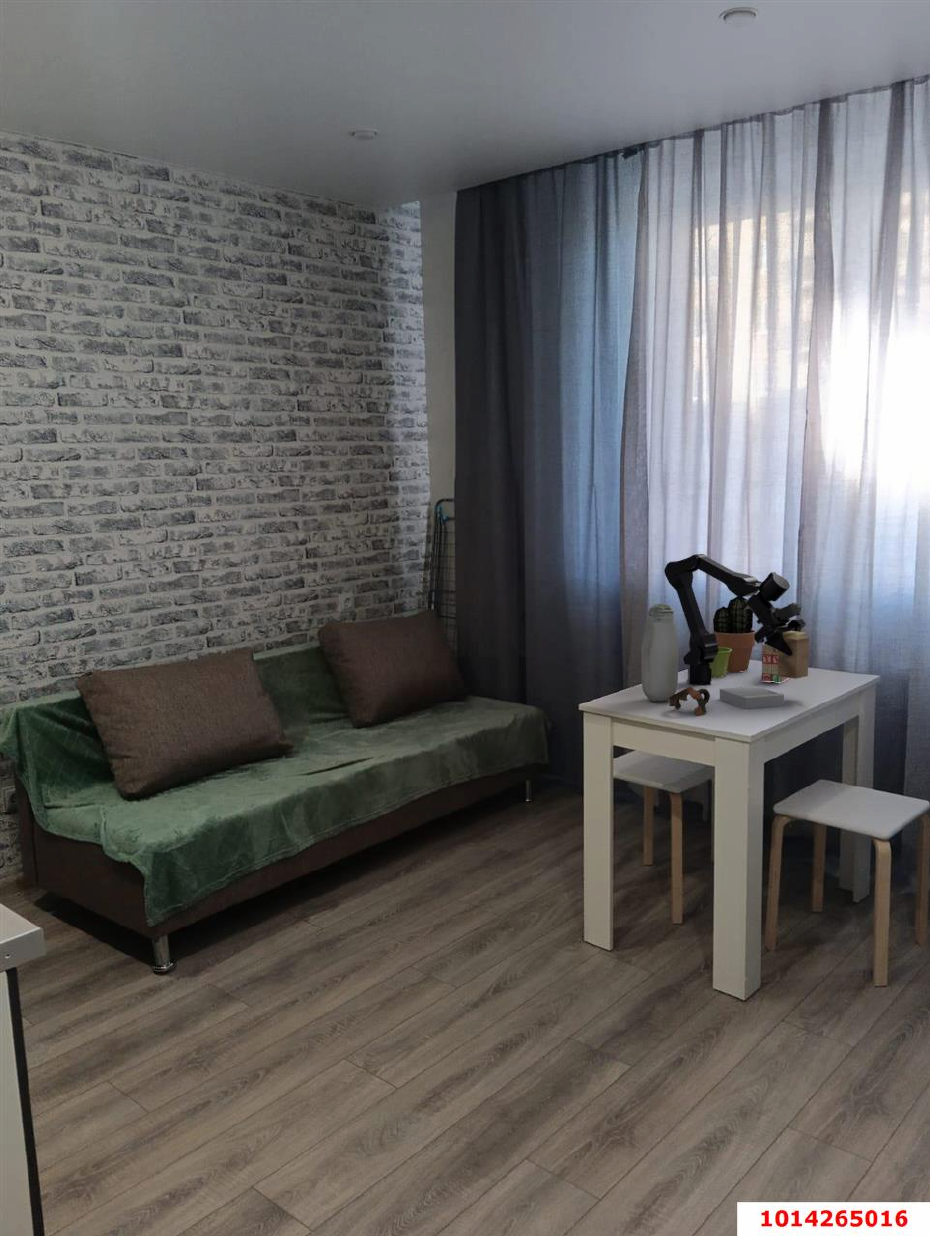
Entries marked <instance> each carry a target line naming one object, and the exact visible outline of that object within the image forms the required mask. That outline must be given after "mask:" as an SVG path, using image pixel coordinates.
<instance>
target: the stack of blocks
mask: <svg viewBox="0 0 930 1236" xmlns="http://www.w3.org/2000/svg"><path fill="white" fill-rule="evenodd" d="M761 644H762V647H761V649H762V650H761V651H762V654H761V682H762V681H775V682H782V681H784V680H785V679H787V678H788V677H782V676H778V650H777V649H775V648H773V647H771V646H769V645H765V644H764V643H761Z"/></svg>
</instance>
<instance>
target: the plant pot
mask: <svg viewBox="0 0 930 1236" xmlns="http://www.w3.org/2000/svg"><path fill="white" fill-rule="evenodd" d="M731 651H732V649H730V648H725V647H718V653H717V655H716V656H715V658H714V661H713V663H709V664H710V668H711V669H712V677H714V678H722V677H721V676H724V677H725V675H726V676H727V673H728V672H727V666H728V660H729V656H730V652H731Z"/></svg>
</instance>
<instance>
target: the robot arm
mask: <svg viewBox="0 0 930 1236" xmlns="http://www.w3.org/2000/svg"><path fill="white" fill-rule="evenodd" d="M663 569H664V571H663V572H664V576H665V578H666V579H667V580H666V581H668V584H669V585H670V586H671V587H672V588H673V589H674V590H675V591H676V595H677V597H678V600H679V603H680V606H681V609H682V612H683V615H684V618H685V621H686V624H687V628H688V631H689V634H690V635H689V640H688V646H689V651H688V652H687V653H686V654H685V655H684V656H683V658H682V660H683V662H684V663H683V664H684V665H687V679H686V682H687V684H689V685H690V686H696V685H697V686H698V685H702V686H703V685H706V686H707V685H709V686H710V685H712V681H713V680H712V677H713V676H712V669H711V668H710V664H709V663H713V661H714V658H715V656H716V655H717V653H718V646H719V644H718V643H717V640H716V635H715V634H714V633H713V632H712V633H711V632H709V631H708V630H707V628H706V625H705V622H704V618H703V616H702V614H701V610H700V608H699V604H698V601H697V598H696V595H695V592H694V588H693V583H694V582H693V580H694V573H695V572H696V571H698V570H700V571H701V572H703V573H705V574H707V575H709V576H710V577H712V578H713V579H715V580H717V581H719V582H720V583H722V584H723V585H725V586H726V587H727V590H729V592H731V593H732V594H733V595H734V596H736V597H737V596H738V597H744V598H745V597H749V598H747V600H743V605H742V610H745V609H751V610H752V612H753V615H754V616H755V617H756V618H757V620H755V621H756V623H757V624H758V625H762V626H760V627H759V629H758V630H757V631H756V633H755V634H754V640H755V643H756V644H765V645H769V646H771V647H773V648H775V649H777V650H779V651H781V652H783V653H785V654H787V655H788V656H791V655H792V654H793V653H792V651H791V650H790V648H789V646H788V645H787V643H786V642H785V640H784V638H783V632H788V631H796V632H802V630H803V629H804V627H805V626H806V625H807V623H806V622H805V621H804V620H803V618H793V617H797V616H800V615H801V610H802V607H801V606H800V605H799V604H798V603H797V602H791V603H789V604H787V605H785V606H784V607H781V608H780V607H775V606H774V604H772V602H777V601H778V600H779V599H781V597H782V596H783V595H784V594H786V592H787V591H788V590H789V589H790V588H791V586H790V583H789V581H788V580H787V579H786V578H784V577H783V576H782V575H780V574H777V573H776V571H771V572H770V573H769V574H768V575H767V576H766V578H765V579H764V580H763V581H760V580H758V578H756V577H755V576H752V575H749V574H746V573H741V572H737V571H734V570H732V569H730V568H729V567H727V566H724V565H723V564H721V563H719V562H717V561H715V560H714V559H712V558H711V557H708V556H707V555H706V554H705V553H700V554H699V553H698V554H692V555H690V556H689V557H686V558H683V559H681V560H676V561H669V562H667V564H666V565H665V568H663ZM791 618H793V619H791Z"/></svg>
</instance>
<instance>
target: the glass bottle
mask: <svg viewBox="0 0 930 1236" xmlns="http://www.w3.org/2000/svg"><path fill="white" fill-rule="evenodd" d="M646 615H647V618H646V619H647V620H646V625H645V630H644V634H643V637H642V642H641V648H640V649H641V653H640V656H641V657H640V658H641V687H642V691H643V693H644V696H645V697H646V698H647V699H648V700H650V701H654V702H659V703H660V702H665V701H670V700H669V699H668V698H669V697H670V696H672V695H674V694H676V693H677V690H678V684H679V660H680V659H679V658H680V657H679V654H680V653H679V652H680V648H679V647H680V646H679V641H678V635H677V631H676V626H675V613H674V610H673V607H671V605H669V604H667V603H658V604H657V603H656V604H654V605H652V606H651V607H649V609H648V611H647V614H646Z"/></svg>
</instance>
